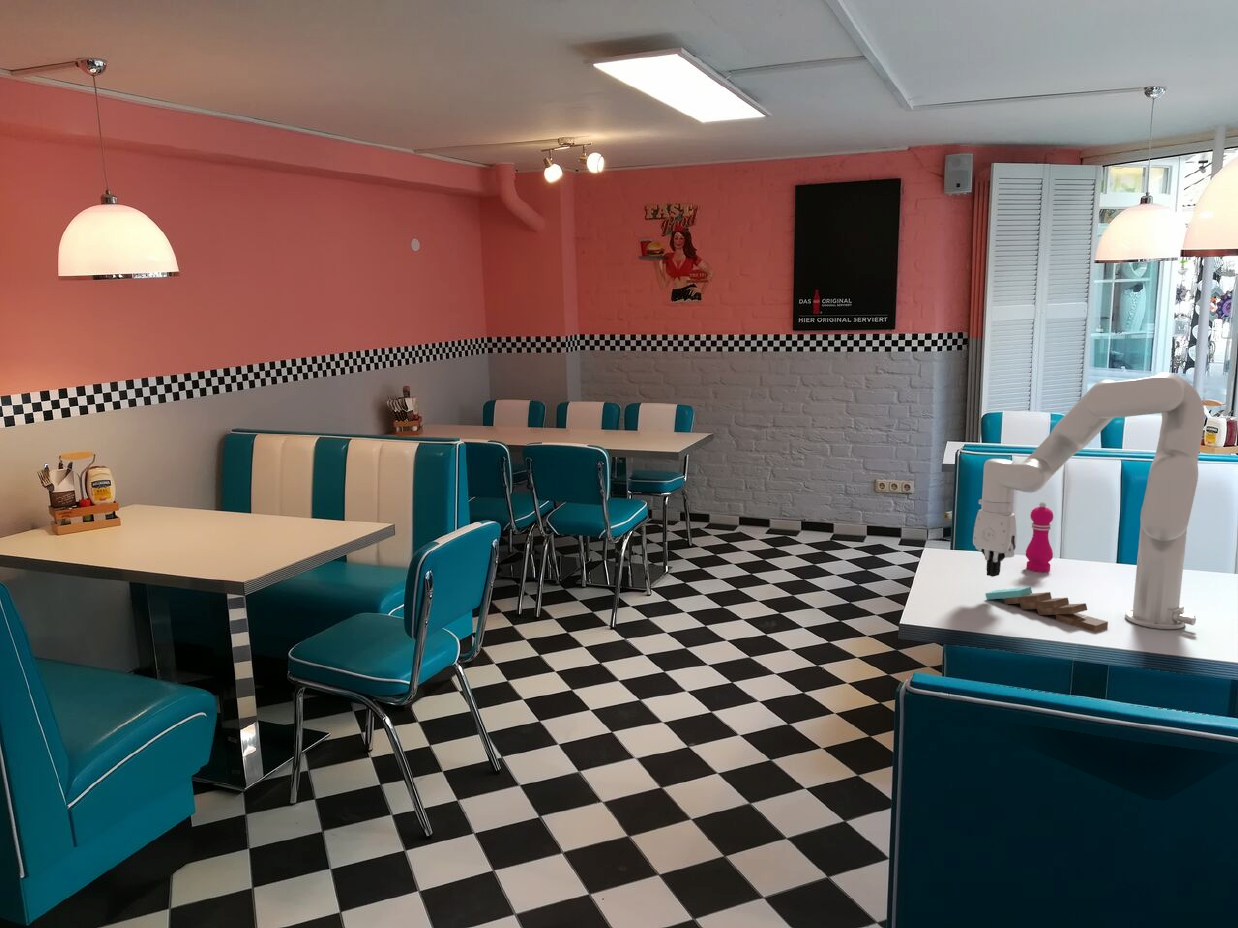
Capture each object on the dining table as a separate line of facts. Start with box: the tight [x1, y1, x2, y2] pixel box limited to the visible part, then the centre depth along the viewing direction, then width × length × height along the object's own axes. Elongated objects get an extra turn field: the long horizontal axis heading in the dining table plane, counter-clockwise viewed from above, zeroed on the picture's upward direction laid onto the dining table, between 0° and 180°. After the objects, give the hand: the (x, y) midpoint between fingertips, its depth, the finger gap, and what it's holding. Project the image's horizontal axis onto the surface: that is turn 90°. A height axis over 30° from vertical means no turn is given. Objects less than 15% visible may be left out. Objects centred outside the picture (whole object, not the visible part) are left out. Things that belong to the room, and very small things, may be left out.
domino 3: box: [1019, 597, 1070, 610], centre depth 227 cm, size 2×5×10 cm
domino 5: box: [1055, 612, 1109, 633], centre depth 219 cm, size 2×5×10 cm
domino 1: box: [984, 586, 1033, 601], centre depth 236 cm, size 2×5×10 cm
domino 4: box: [1036, 602, 1088, 616], centre depth 223 cm, size 2×5×10 cm
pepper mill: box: [1025, 501, 1054, 573], centre depth 264 cm, size 7×7×20 cm
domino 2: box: [1003, 591, 1053, 605], centre depth 232 cm, size 2×5×10 cm
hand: (993, 575), depth 239 cm, fingers closed
